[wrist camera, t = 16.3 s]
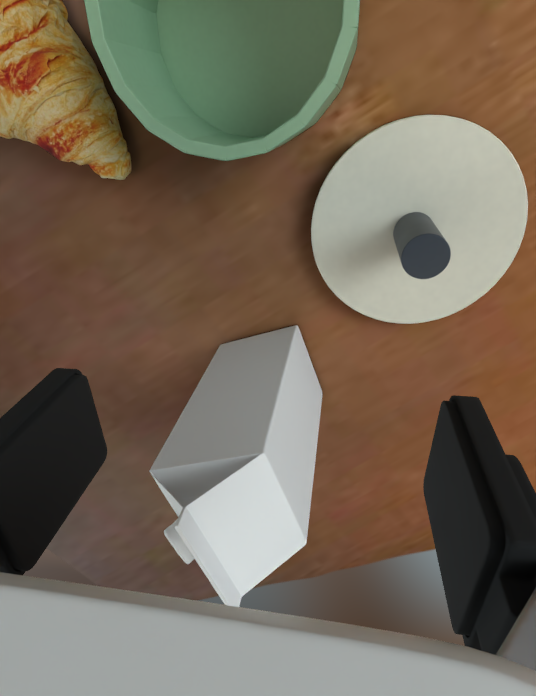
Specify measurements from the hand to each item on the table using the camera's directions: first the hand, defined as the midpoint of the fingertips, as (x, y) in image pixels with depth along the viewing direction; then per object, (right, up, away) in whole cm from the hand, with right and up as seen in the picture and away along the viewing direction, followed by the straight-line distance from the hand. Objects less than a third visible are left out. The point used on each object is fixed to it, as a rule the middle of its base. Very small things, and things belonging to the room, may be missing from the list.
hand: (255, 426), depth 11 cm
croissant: (-17, +22, +17) cm, 32 cm away
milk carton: (+1, 0, +26) cm, 26 cm away
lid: (+10, +10, +17) cm, 22 cm away
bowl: (-1, +21, +14) cm, 25 cm away
